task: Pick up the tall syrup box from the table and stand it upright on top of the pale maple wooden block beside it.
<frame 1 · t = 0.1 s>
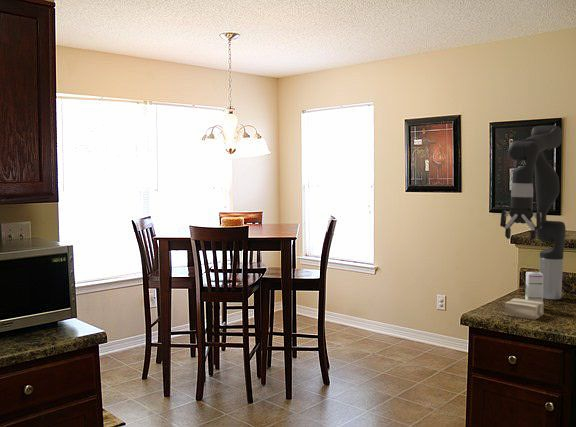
hand: (520, 239, 215), 29 cm above the countertop, tool pointing down, fingers open, 8 cm apart
maple block: (523, 315, 222), on the countertop
syrup box: (533, 309, 231), on the countertop
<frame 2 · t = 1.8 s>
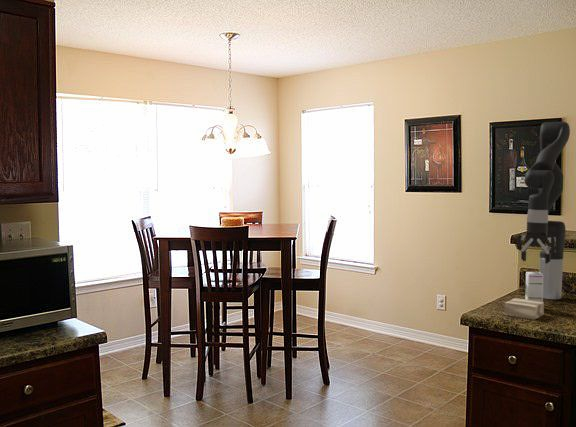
hand: (535, 262, 229), 19 cm above the countertop, tool pointing down, fingers open, 8 cm apart
nothing on the countertop moved.
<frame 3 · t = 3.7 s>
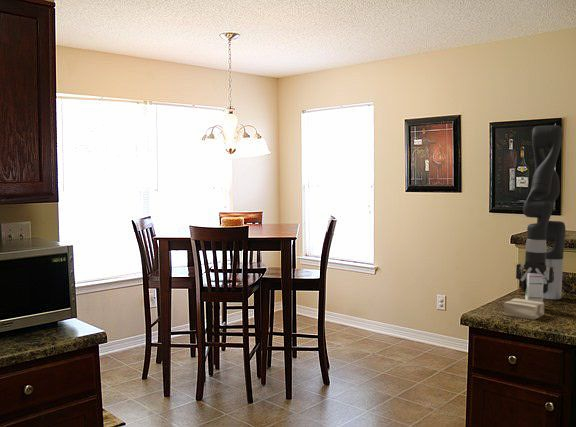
hand: (534, 291, 230), 7 cm above the countertop, tool pointing down, fingers closed on syrup box, 7 cm apart
syrup box: (533, 309, 231), on the countertop, touching gripper
everything else where it was.
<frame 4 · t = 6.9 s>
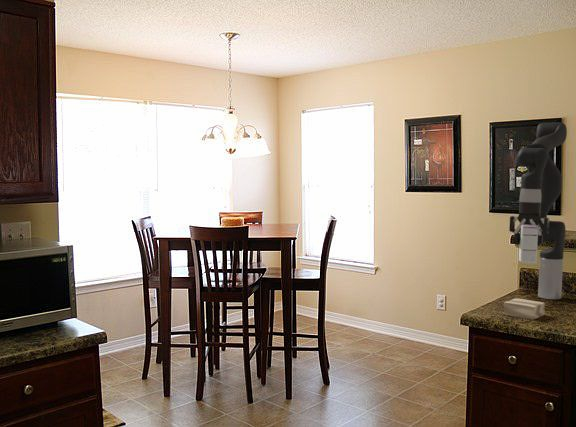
hand: (528, 244, 221), 27 cm above the countertop, tool pointing down, fingers closed on syrup box, 7 cm apart
syrup box: (527, 263, 221), point 20 cm above the countertop, touching gripper
everything else where it was.
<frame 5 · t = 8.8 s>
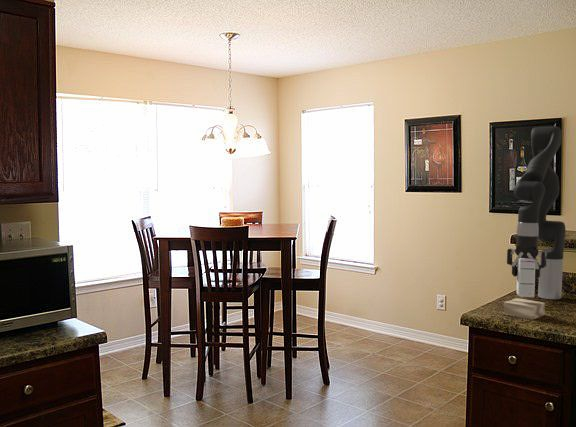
hand: (525, 277, 221), 14 cm above the countertop, tool pointing down, fingers closed on syrup box, 7 cm apart
syrup box: (524, 296, 221), point 7 cm above the countertop, touching gripper
everything else where it was.
when the fingers open (13 cm above the countertop, at t = 10.0 s): syrup box drops 2 cm, point 4 cm above the countertop.
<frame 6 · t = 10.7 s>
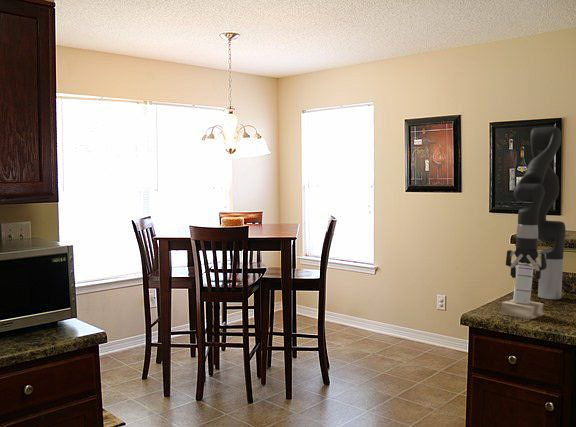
hand: (525, 279, 221), 14 cm above the countertop, tool pointing down, fingers open, 8 cm apart
syrup box: (520, 302, 222), point 4 cm above the countertop
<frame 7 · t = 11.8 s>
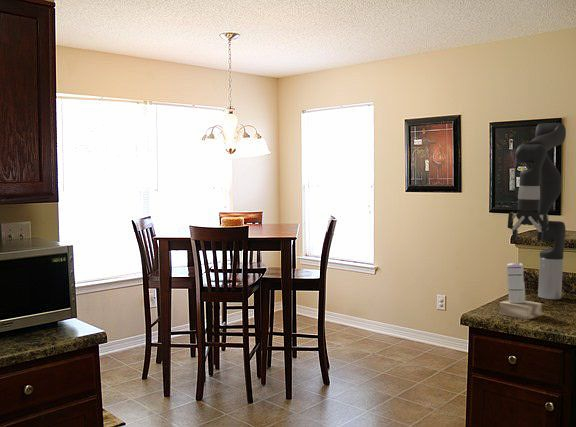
hand: (527, 241, 219), 28 cm above the countertop, tool pointing down, fingers open, 8 cm apart
maple block: (520, 315, 222), on the countertop, touching syrup box
syrup box: (517, 302, 222), point 4 cm above the countertop, touching maple block
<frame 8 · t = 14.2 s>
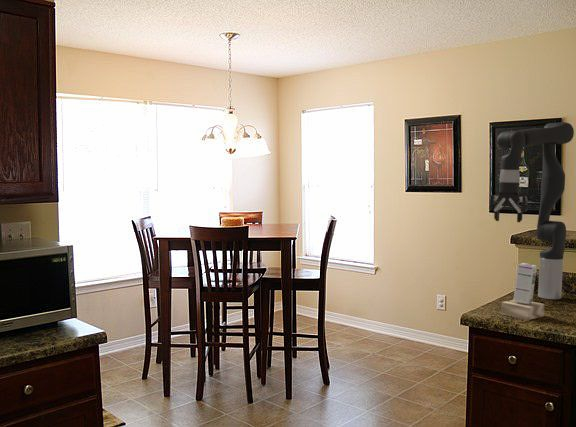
hand: (507, 221, 234), 34 cm above the countertop, tool pointing down, fingers open, 8 cm apart
maple block: (522, 316, 221), on the countertop
syrup box: (522, 302, 221), point 5 cm above the countertop
at the end: syrup box 0.5 cm off-centre on the maple block, point 5.2 cm above the maple block's base; syrup box tilted 6°; the gripper is holding nothing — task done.
